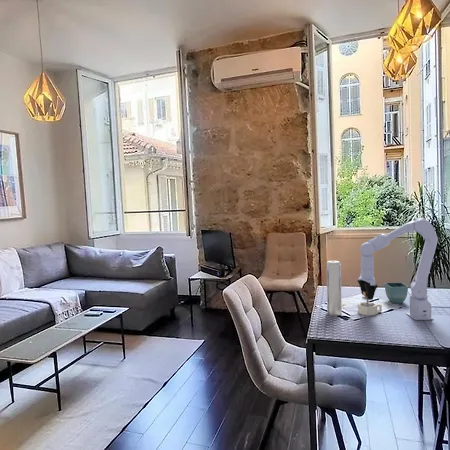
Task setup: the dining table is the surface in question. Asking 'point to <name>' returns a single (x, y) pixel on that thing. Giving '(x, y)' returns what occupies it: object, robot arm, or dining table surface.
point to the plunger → (366, 299)
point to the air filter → (334, 288)
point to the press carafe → (369, 309)
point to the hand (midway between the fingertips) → (367, 297)
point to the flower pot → (396, 292)
